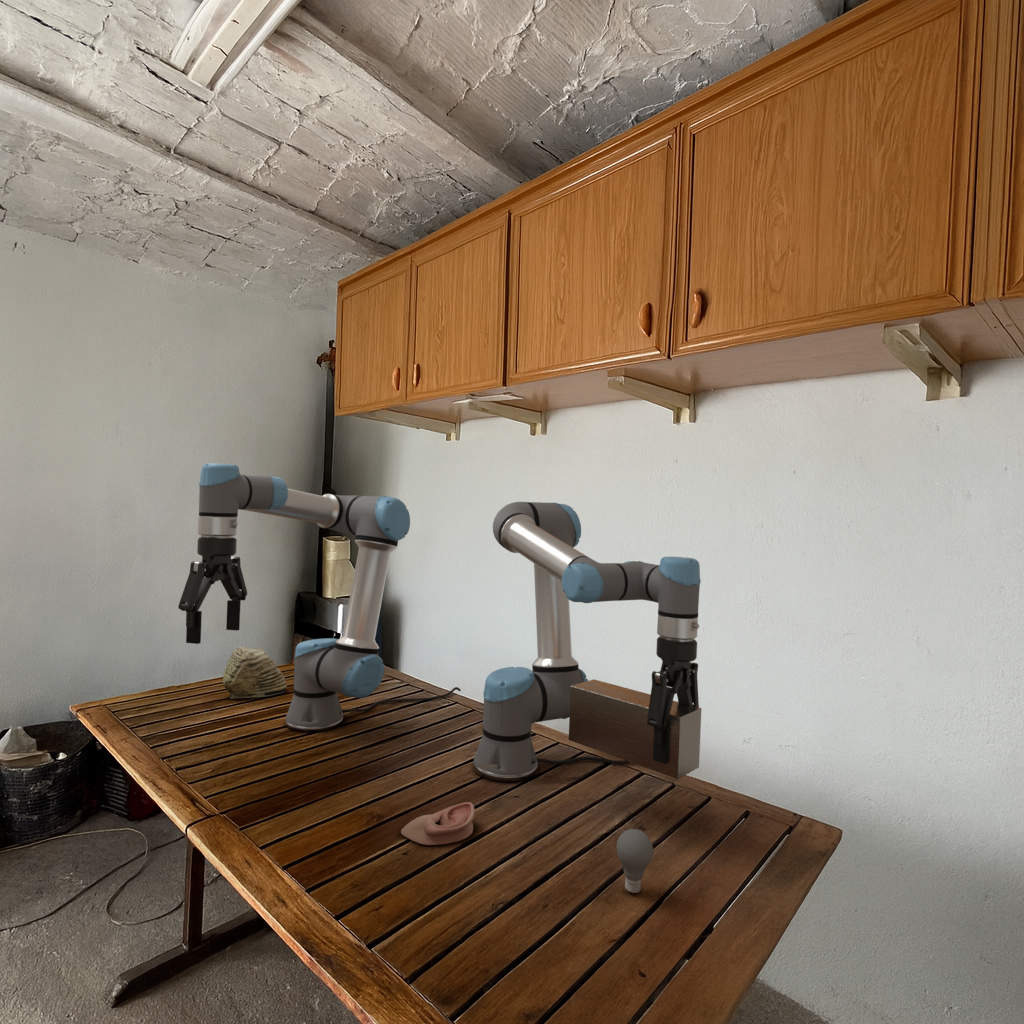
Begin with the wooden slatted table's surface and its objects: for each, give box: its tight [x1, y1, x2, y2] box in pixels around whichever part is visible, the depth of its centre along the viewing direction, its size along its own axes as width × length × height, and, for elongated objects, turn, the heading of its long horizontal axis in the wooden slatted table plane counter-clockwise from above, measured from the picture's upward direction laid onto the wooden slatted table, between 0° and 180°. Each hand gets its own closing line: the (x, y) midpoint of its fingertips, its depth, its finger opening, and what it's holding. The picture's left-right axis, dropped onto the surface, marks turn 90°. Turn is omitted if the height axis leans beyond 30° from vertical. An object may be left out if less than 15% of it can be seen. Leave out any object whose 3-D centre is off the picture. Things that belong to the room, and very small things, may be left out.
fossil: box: [222, 646, 288, 699], centre depth 198 cm, size 9×18×15 cm, turn 132°
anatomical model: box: [400, 801, 476, 846], centre depth 122 cm, size 13×4×12 cm
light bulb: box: [615, 828, 654, 894], centre depth 106 cm, size 6×6×10 cm
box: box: [568, 679, 702, 780], centre depth 128 cm, size 26×8×12 cm, turn 46°
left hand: (214, 636), depth 135 cm, fingers open, 13 cm apart
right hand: (672, 755), depth 122 cm, fingers closed on box, 8 cm apart
